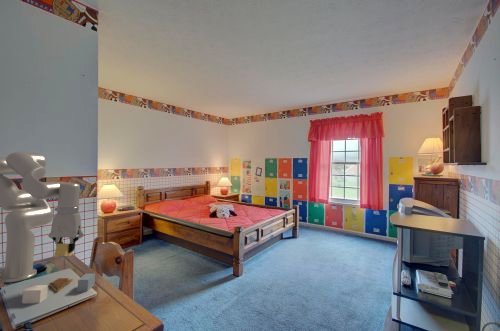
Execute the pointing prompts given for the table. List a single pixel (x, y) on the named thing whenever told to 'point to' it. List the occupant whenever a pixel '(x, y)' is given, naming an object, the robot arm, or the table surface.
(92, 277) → the slate brick
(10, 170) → the robot arm
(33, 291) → the cream brick
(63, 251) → the mustard brick
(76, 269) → the table surface
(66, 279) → the shard
